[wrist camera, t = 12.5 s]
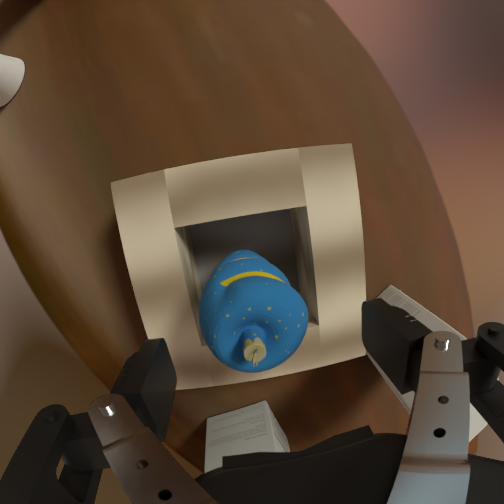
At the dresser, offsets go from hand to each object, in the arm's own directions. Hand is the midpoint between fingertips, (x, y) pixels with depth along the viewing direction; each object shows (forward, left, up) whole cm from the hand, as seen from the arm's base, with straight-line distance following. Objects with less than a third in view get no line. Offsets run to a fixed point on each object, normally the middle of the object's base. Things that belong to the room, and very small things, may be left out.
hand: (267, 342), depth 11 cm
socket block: (0, 0, -15) cm, 15 cm away
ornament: (0, 0, -15) cm, 15 cm away
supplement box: (+20, -3, -15) cm, 25 cm away
